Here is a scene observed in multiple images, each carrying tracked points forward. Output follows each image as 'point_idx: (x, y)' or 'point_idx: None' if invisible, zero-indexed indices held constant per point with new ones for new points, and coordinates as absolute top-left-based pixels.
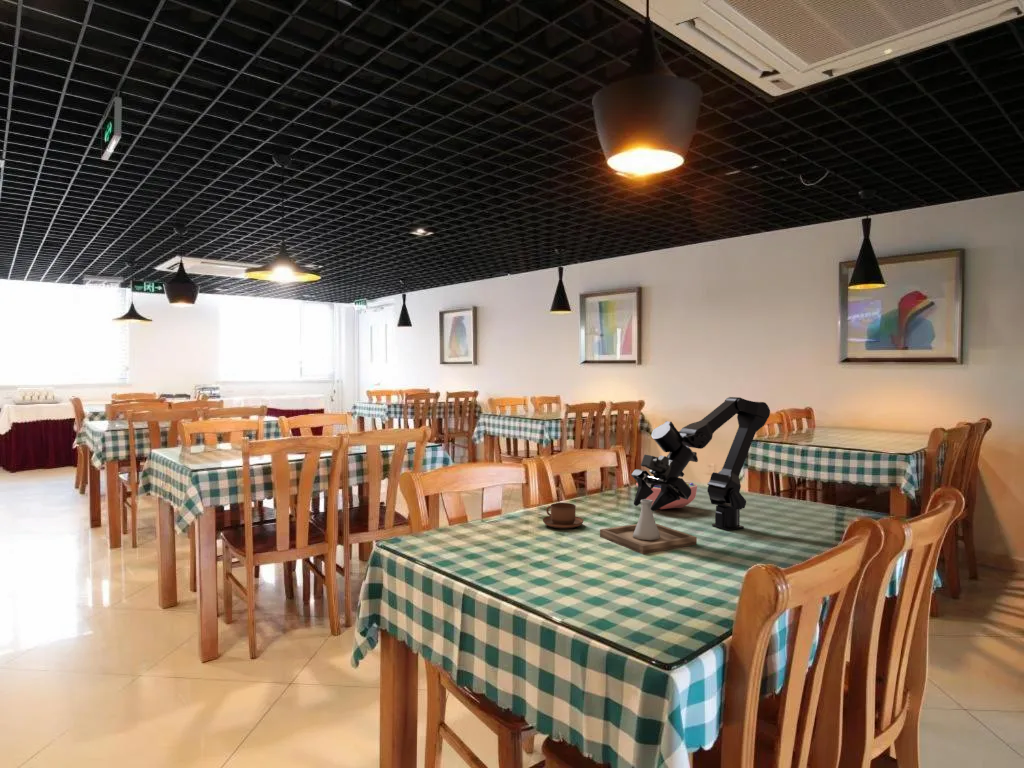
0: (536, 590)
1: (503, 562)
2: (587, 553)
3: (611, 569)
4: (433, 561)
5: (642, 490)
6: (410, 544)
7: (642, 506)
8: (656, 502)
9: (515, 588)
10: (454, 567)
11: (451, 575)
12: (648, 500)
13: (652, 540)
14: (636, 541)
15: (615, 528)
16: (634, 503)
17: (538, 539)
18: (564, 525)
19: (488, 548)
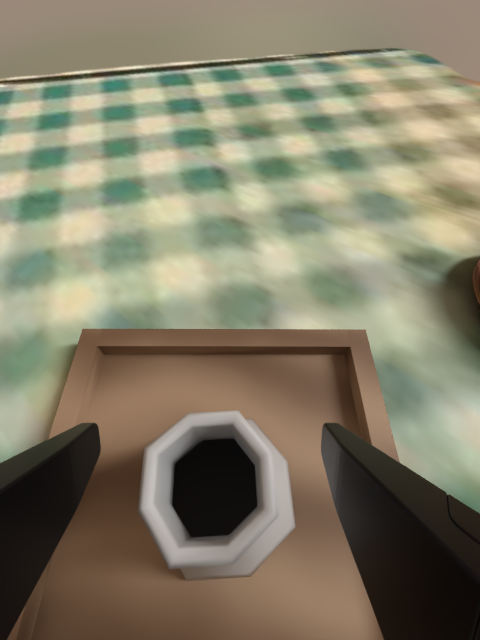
0: (91, 100)
1: (240, 109)
2: (205, 226)
3: (70, 209)
4: (294, 65)
5: (445, 600)
6: (398, 65)
7: (220, 434)
8: (6, 460)
9: (120, 89)
10: (253, 72)
11: (221, 64)
12: (231, 541)
13: None
14: (195, 396)
15: (361, 396)
16: (325, 423)
17: (376, 196)
18: (474, 270)
19: (335, 117)
